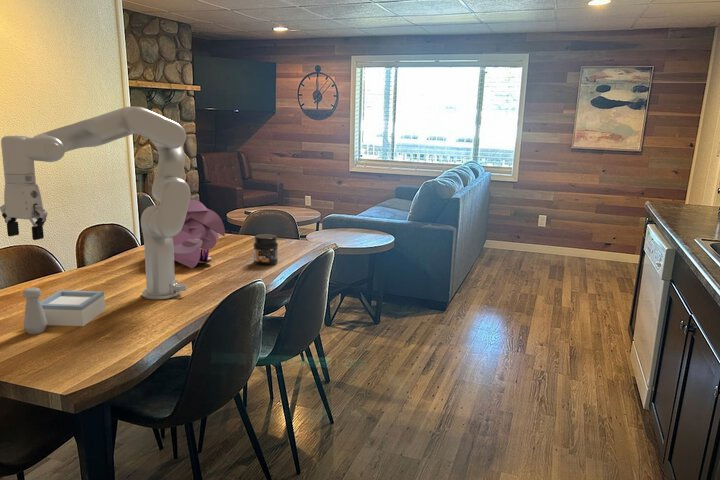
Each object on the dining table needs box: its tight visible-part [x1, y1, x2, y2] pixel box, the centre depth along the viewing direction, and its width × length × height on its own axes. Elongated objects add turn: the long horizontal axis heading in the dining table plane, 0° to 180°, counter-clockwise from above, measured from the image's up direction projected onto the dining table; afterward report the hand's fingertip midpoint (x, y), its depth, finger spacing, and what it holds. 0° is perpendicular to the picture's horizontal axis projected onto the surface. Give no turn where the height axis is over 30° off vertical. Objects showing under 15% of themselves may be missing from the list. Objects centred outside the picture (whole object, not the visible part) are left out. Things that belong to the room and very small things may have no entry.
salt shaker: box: [22, 286, 48, 335], centre depth 153 cm, size 6×6×13 cm
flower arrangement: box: [172, 199, 226, 269], centre depth 231 cm, size 35×24×28 cm
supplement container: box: [252, 233, 279, 266], centre depth 233 cm, size 10×10×12 cm
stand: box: [40, 289, 106, 327], centre depth 165 cm, size 14×14×6 cm
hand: (25, 237), depth 158 cm, fingers open, 9 cm apart
